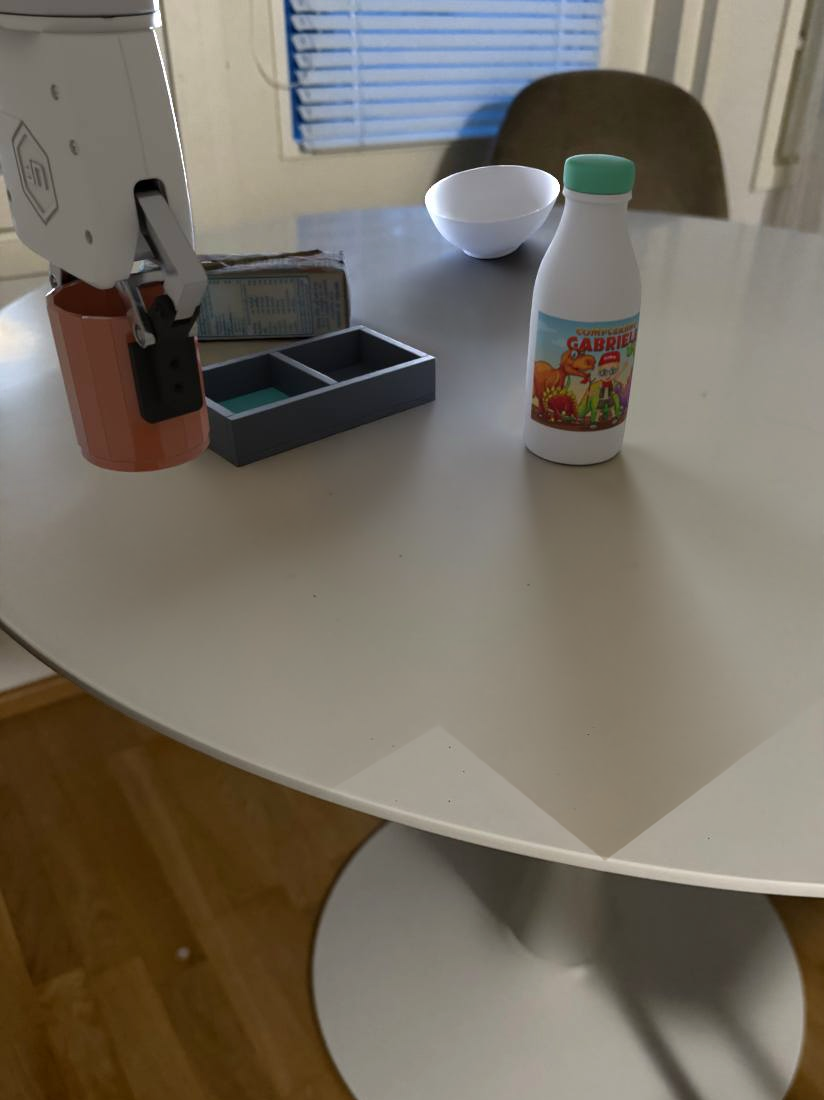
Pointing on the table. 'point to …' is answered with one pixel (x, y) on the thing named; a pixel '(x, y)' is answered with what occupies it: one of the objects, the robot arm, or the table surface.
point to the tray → (311, 391)
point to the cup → (115, 384)
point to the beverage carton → (273, 294)
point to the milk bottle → (584, 319)
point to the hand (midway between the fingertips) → (136, 387)
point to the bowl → (491, 207)
